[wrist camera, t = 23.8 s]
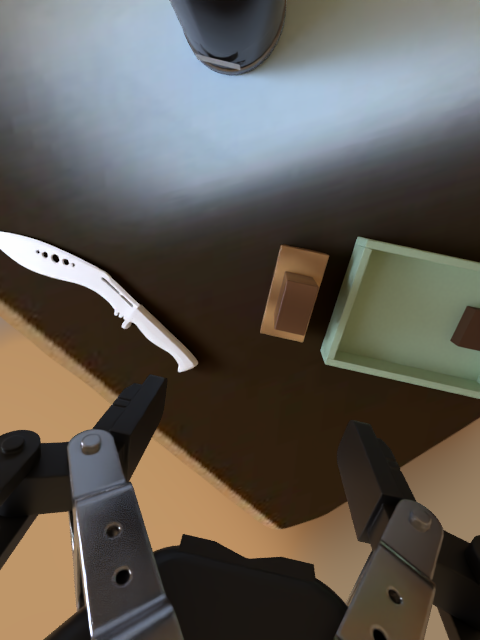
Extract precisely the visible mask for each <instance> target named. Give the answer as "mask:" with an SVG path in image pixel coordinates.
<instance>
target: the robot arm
mask: <svg viewBox="0 0 480 640" xmlns="http://www.w3.org/2000/svg"><path fill="white" fill-rule="evenodd" d="M169 1H170V3H171V5H172V7H173V9H174V11H175V13H176V15H177V17H178V20H179V22H180V24H181V26H182V28H183V31H184V34H185V36H186V39H187V41H188V43H189V45H190V47H191V49H192V51H193V52H194V54H195V55H196V57H197V59H198V60H200V61H201V62H202V63H203V64H204V65H206V66H207V67H208V68H210V69H211V70H213V71H215V72H218V73H221V74H226V75H238V74H243V73H246V72H248V71H250V70H252V69H254V68H256V67H257V66H259V65H260V64H261V63H262V62H263V61H264V60H265V59H266V58H267V57H268V56H269V55H270V53H271V52H272V51H273V49H274V47H275V46H276V44H277V42H278V40H279V37H280V35H281V32H282V29H283V25H284V20H285V11H286V0H169ZM166 388H167V378H163V377H159V376H154V375H149V376H148V377H147V379H146V380H145V382H144V383H143V384H142V385H140V384H136V383H134V384H133V385H131V386H129V387H127V388H125V389H124V390H123V391H122V393H121V394H120V395H119V396H118V399H116V400H115V401H114V403H113V405H111V406H110V408H109V409H108V410H107V411H106V412H105V414H104V415H103V416H102V418H101V419H100V420H99V421H98V422H97V424H96V425H95V426H94V427H93V429H91V430H86V431H83V432H81V433H79V434H77V435H75V436H74V437H73V438H72V439H71V440H70V441H69V442H62V443H40V437H39V435H38V434H36V433H35V432H33V431H28V430H17V431H12V432H9V433H6V434H3V435H1V436H0V570H1V568H2V567H3V565H4V564H5V562H6V561H7V559H8V558H9V556H10V555H11V554H12V552H13V551H14V549H15V548H16V546H17V545H18V543H19V542H20V540H21V539H22V538H23V536H24V535H25V533H26V531H27V530H28V529H29V527H30V526H31V524H32V523H33V521H34V520H35V519H36V517H37V516H38V514H46V513H55V512H67V511H68V514H69V524H70V534H71V545H72V555H73V566H74V582H75V595H76V607H77V612H76V613H75V614H74V615H73V616H71V617H70V618H69V619H68V620H67V621H65V622H64V623H63V624H62V625H61V626H59V627H58V628H57V629H56V630H54V631H53V632H52V633H51V634H50V635H48V636H47V637H46V638H45V639H44V640H424V637H425V633H426V628H427V624H428V620H429V616H430V612H431V608H432V604H433V605H435V606H437V608H438V610H439V613H440V616H441V619H442V621H443V624H444V627H445V629H446V632H447V634H448V638H449V640H480V535H479V536H476V537H474V539H473V540H472V542H471V543H468V542H466V541H464V540H462V539H460V538H458V537H456V536H454V535H452V534H450V533H448V532H446V531H444V530H443V527H442V525H441V523H440V522H439V520H438V519H437V518H436V516H435V515H434V514H433V513H432V512H431V511H430V510H428V509H427V508H426V507H425V506H423V505H421V504H420V503H418V502H416V500H415V498H414V496H413V494H412V492H411V490H410V488H409V486H408V484H407V482H406V480H405V478H404V476H403V474H402V472H401V471H400V468H399V466H398V464H397V462H396V459H395V457H394V455H393V453H392V451H391V449H390V448H389V447H388V446H387V445H386V444H385V443H384V442H383V441H382V440H381V439H379V438H376V436H375V434H374V431H373V429H372V427H371V425H370V424H367V423H363V422H358V421H354V420H351V421H349V423H348V425H347V428H346V430H345V432H344V435H343V437H342V440H341V442H340V445H339V447H338V452H337V463H338V467H339V471H340V474H341V478H342V482H343V486H344V490H345V493H346V497H347V501H348V504H349V509H350V512H351V516H352V520H353V524H354V528H355V532H356V535H357V539H358V541H360V542H365V543H369V544H371V547H372V552H371V553H370V555H369V557H368V559H367V561H366V563H365V565H364V567H363V569H362V571H361V574H360V575H359V577H358V580H357V582H356V584H355V586H354V588H353V590H352V592H351V594H350V596H349V598H348V600H347V602H346V603H344V602H343V600H342V599H341V598H340V597H339V596H338V595H337V594H336V593H335V592H334V591H333V590H332V589H330V588H329V587H328V586H326V585H325V584H324V583H323V582H321V581H320V580H318V579H316V578H315V572H314V565H313V564H310V563H305V562H301V561H297V560H292V559H288V558H284V557H271V558H256V559H248V558H245V557H243V556H241V555H239V554H237V553H235V552H233V551H232V550H230V549H228V548H226V547H224V546H222V545H220V544H219V543H217V542H215V541H211V540H207V539H203V538H198V537H194V536H190V535H185V534H183V536H182V539H181V544H180V545H179V546H171V547H166V548H163V549H160V550H157V551H154V552H153V551H152V548H151V544H150V541H149V538H148V535H147V531H146V528H145V525H144V521H143V518H142V515H141V511H140V508H139V505H138V502H137V498H136V495H135V492H134V488H133V486H132V484H131V482H129V480H130V478H131V476H132V474H133V472H134V470H135V469H136V467H137V465H138V463H139V461H140V459H141V457H142V455H143V453H144V451H145V449H146V447H147V446H148V444H149V442H150V440H151V438H152V436H153V434H154V432H155V430H156V428H157V426H158V424H159V422H160V420H161V417H162V414H163V410H164V404H165V396H166Z"/></svg>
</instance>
